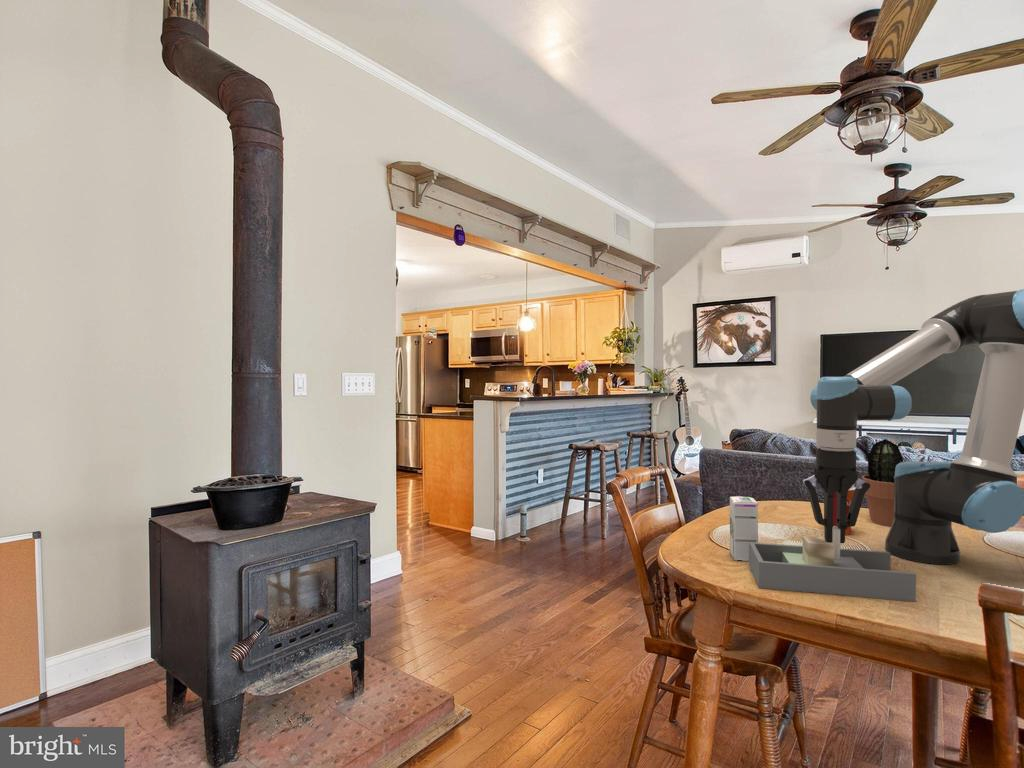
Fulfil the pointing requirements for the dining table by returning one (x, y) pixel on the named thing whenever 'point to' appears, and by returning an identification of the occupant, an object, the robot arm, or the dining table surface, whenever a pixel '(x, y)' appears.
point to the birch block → (818, 551)
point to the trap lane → (830, 573)
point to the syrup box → (743, 526)
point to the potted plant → (882, 481)
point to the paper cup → (849, 499)
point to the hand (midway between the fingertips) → (834, 557)
